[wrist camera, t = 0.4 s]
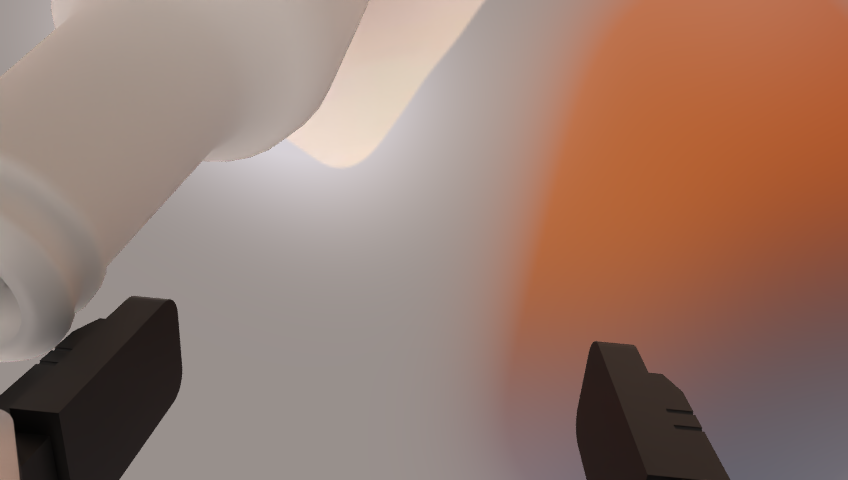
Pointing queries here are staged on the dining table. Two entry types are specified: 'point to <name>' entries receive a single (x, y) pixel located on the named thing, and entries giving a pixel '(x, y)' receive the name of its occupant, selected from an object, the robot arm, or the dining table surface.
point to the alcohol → (138, 130)
